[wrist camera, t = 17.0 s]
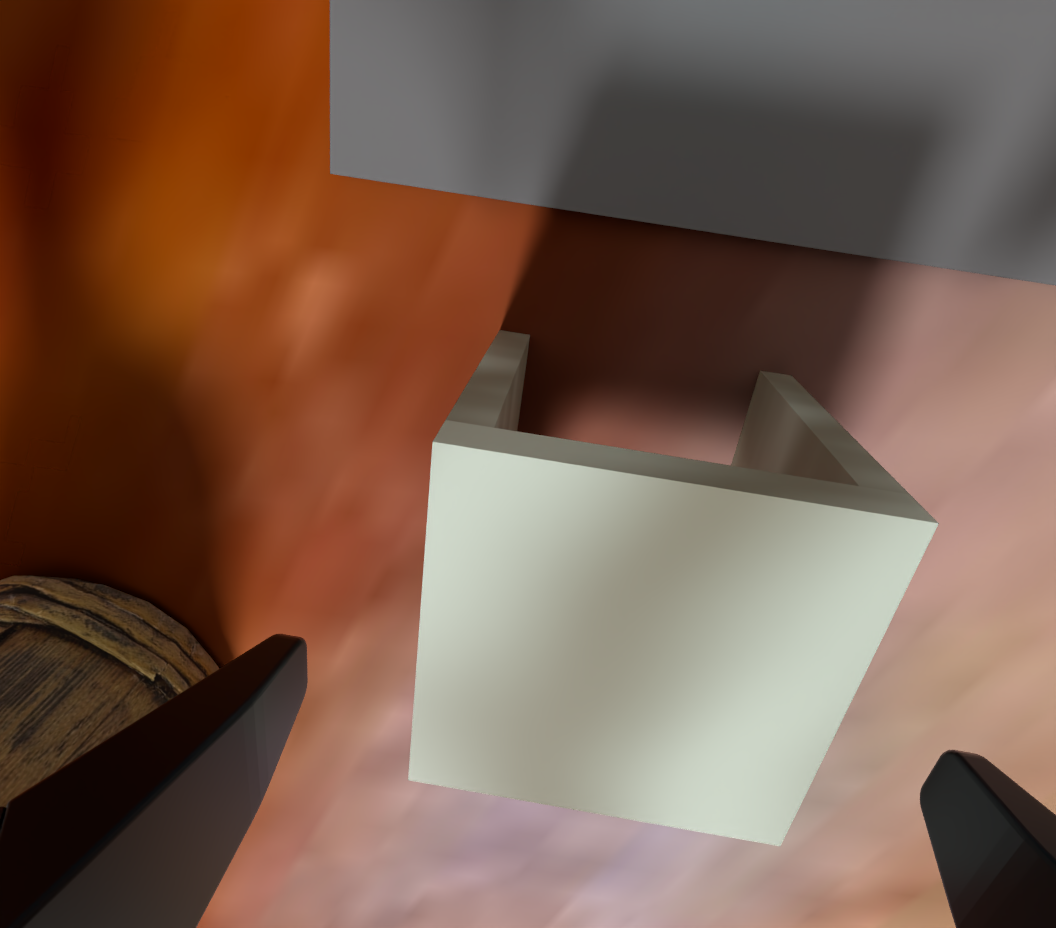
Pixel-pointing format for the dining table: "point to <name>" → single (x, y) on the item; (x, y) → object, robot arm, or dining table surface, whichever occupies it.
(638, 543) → the cover
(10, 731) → the wooden mug
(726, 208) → the mat
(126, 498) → the dining table surface
